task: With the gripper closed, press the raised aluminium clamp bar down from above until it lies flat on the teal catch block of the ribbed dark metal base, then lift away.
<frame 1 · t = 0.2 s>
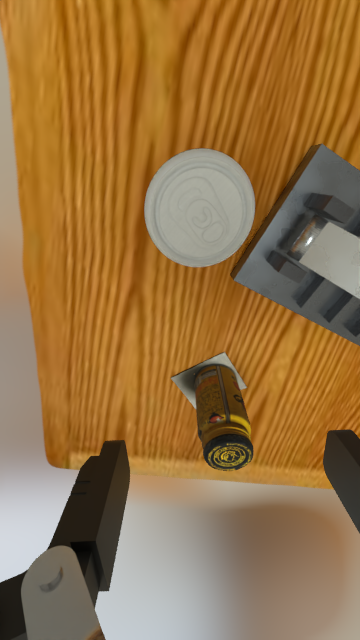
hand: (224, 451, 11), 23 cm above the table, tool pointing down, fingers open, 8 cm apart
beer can: (190, 196, 27), on the table
condiment: (209, 380, 39), on the table
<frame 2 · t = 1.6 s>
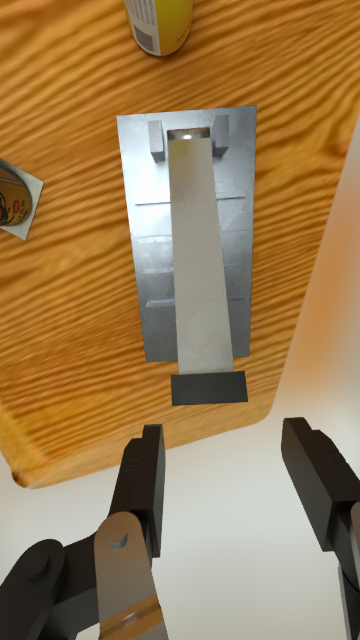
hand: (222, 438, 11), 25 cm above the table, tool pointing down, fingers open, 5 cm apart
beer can: (160, 22, 26), on the table
clamp bar: (196, 245, 22), point 12 cm above the table, hinge at 35.0°
clamp base: (191, 252, 33), on the table
condiment: (1, 194, 31), on the table
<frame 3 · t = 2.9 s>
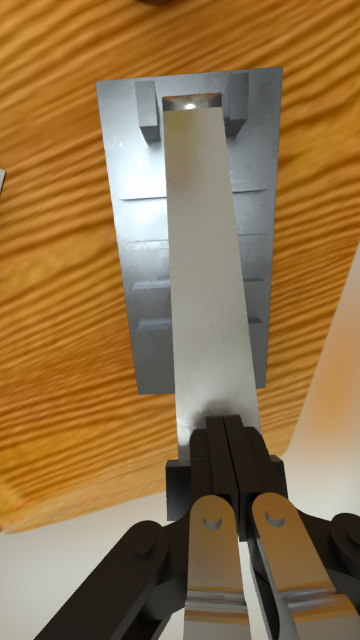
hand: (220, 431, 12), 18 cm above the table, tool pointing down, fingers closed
clamp bar: (204, 257, 15), point 12 cm above the table, hinge at 35.0°, touching gripper
clamp base: (195, 260, 27), on the table
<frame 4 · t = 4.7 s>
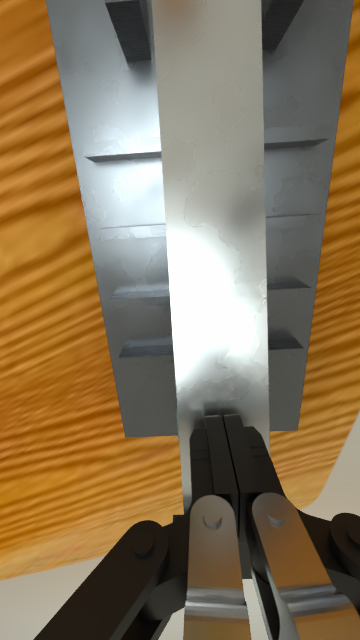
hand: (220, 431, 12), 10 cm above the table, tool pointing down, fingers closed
clamp bar: (217, 286, 11), point 8 cm above the table, hinge at 14.9°, touching gripper
clamp base: (203, 255, 18), on the table
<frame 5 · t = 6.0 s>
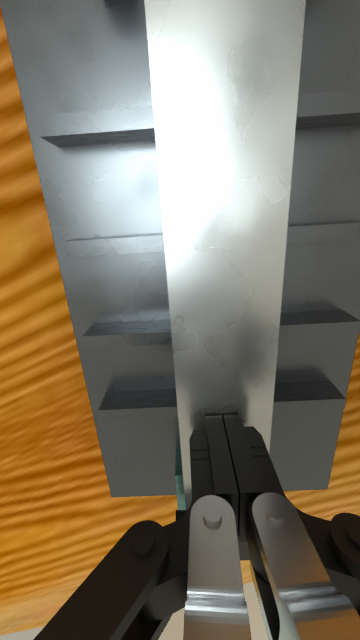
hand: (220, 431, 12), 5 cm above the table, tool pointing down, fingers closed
clamp bar: (224, 317, 10), point 5 cm above the table, hinge at -0.1°, touching gripper
clamp base: (210, 273, 14), on the table
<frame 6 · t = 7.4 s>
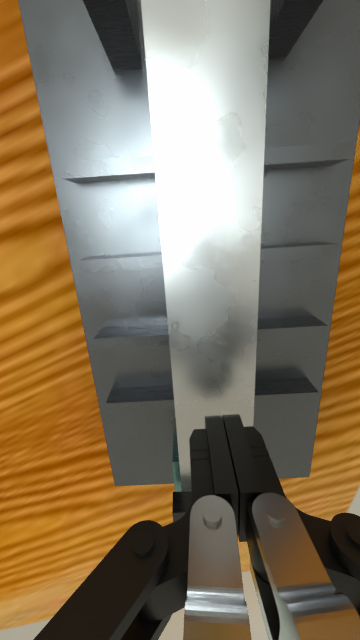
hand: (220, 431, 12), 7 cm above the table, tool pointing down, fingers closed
clamp bar: (212, 322, 12), point 5 cm above the table, hinge at -0.1°
clamp base: (202, 284, 16), on the table
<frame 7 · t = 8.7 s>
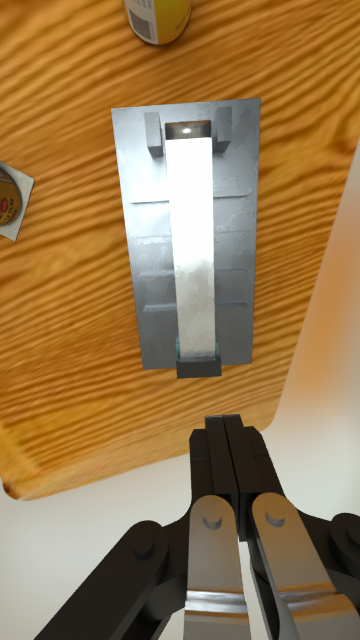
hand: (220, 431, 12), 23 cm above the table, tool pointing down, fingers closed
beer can: (158, 8, 24), on the table
clamp bar: (193, 265, 27), point 5 cm above the table, hinge at -0.1°
clamp base: (191, 254, 32), on the table
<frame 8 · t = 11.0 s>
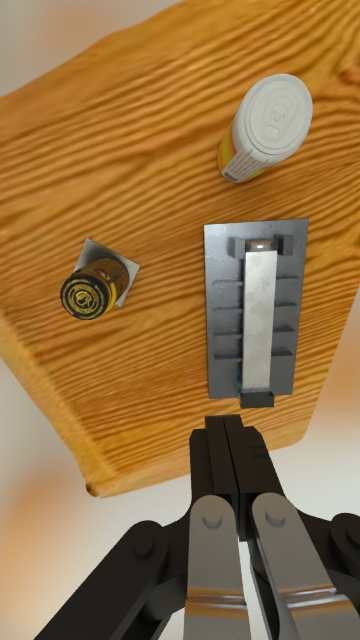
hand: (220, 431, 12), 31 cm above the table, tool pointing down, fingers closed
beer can: (238, 158, 35), on the table
clamp bar: (258, 330, 38), point 5 cm above the table, hinge at -0.1°
clamp base: (249, 315, 43), on the table
condiment: (105, 273, 41), on the table
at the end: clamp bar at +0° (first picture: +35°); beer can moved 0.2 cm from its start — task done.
